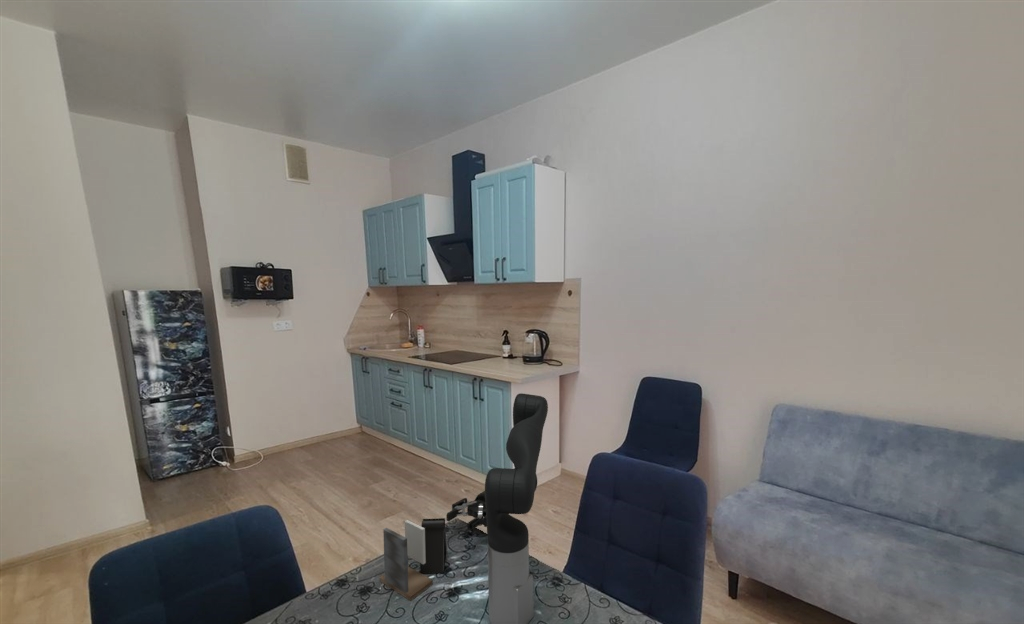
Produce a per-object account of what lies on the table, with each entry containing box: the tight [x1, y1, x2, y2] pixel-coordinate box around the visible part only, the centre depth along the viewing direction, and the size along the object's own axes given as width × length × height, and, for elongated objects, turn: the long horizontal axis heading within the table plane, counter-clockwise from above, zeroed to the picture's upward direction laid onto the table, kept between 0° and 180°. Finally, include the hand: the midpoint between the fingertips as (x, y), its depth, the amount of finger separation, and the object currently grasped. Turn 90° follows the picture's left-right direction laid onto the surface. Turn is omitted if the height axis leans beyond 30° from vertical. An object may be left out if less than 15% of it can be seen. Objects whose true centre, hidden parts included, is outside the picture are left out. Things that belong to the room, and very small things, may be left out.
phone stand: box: [419, 517, 448, 575], centre depth 110 cm, size 9×6×12 cm, turn 1°
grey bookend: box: [379, 527, 434, 602], centre depth 102 cm, size 12×7×14 cm, turn 54°
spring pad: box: [404, 519, 426, 564], centre depth 105 cm, size 9×1×12 cm, turn 53°
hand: (457, 522), depth 117 cm, fingers open, 8 cm apart
